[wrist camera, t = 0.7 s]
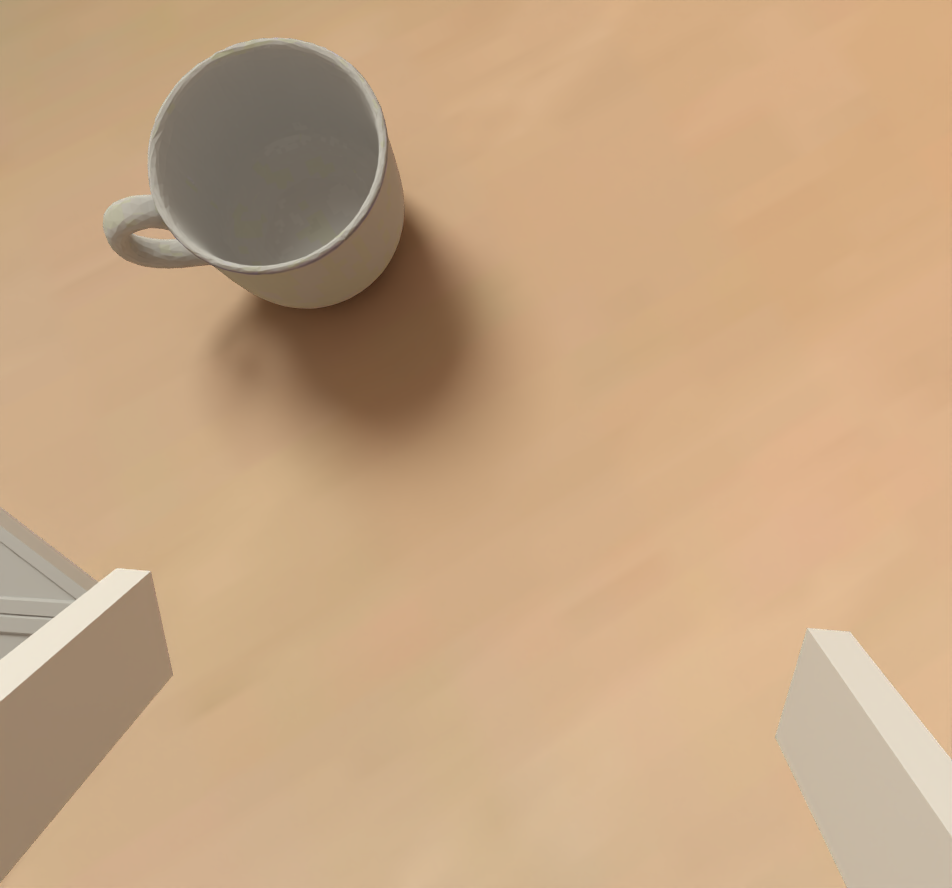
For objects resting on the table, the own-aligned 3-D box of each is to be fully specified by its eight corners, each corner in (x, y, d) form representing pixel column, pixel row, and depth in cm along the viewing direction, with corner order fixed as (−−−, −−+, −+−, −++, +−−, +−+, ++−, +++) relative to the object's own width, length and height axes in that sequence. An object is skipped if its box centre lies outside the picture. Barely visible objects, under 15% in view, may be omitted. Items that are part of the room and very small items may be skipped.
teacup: (407, 137, 32) (365, 9, 24) (435, 313, 30) (400, 236, 22) (180, 188, 33) (69, 81, 25) (194, 360, 31) (79, 303, 23)
